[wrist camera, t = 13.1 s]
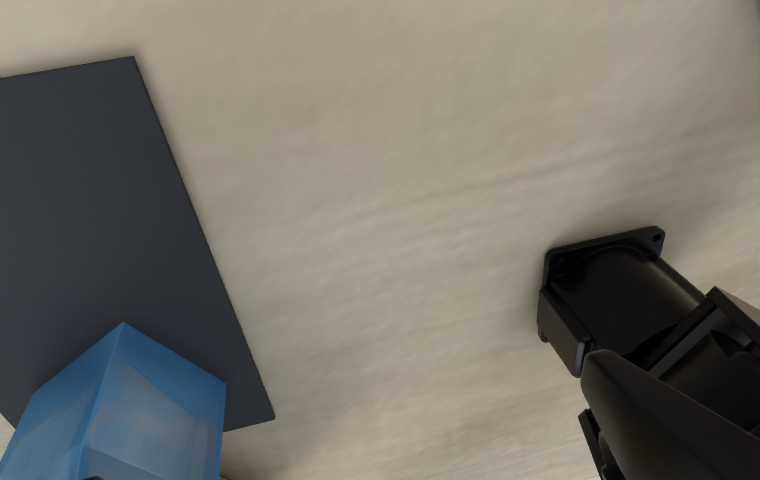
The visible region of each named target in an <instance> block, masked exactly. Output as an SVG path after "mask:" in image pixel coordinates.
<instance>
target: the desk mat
mask: <svg viewBox="0 0 760 480" xmlns="http://www.w3.org/2000/svg"><path fill="white" fill-rule="evenodd" d="M122 322H125V323H126V324H128V325H130V326H131V327H133V328H135V329H136V330H138V331H140V332H141V333H143V334H145V335H146V336H148V337H150V338H151V339H153V340H155V341H156V342H158V343H160V344H161V345H163V346H165V347H166V348H168V349H170V350H171V351H173V352H175V353H176V354H178V355H180V356H181V357H183V358H185V359H186V360H188V361H190V362H191V363H193V364H195V365H196V366H198V367H200V368H201V369H203V370H205V371H206V372H208V373H210V374H211V375H213V376H215V377H216V378H218V379H220V380H221V381H223V382H225V383H226V393H225V407H224V420H223V432H226V431H230V430H234V429H238V428H242V427H246V426H251V425H255V424H259V423H263V422H267V421H271V420H275V414H274V411H273V409H272V406H271V404H270V401H269V399H268V396H267V393H266V391H265V388H264V386H263V383H262V381H261V378H260V376H259V373H258V371H257V368H256V366H255V363H254V360H253V358H252V355H251V353H250V350H249V348H248V345H247V343H246V340H245V338H244V335H243V333H242V330H241V327H240V325H239V322H238V320H237V317H236V315H235V312H234V310H233V307H232V305H231V302H230V299H229V297H228V294H227V292H226V289H225V287H224V284H223V282H222V279H221V277H220V274H219V272H218V269H217V266H216V264H215V261H214V259H213V256H212V254H211V251H210V249H209V246H208V244H207V241H206V239H205V236H204V233H203V231H202V228H201V226H200V223H199V221H198V218H197V216H196V213H195V211H194V208H193V205H192V203H191V200H190V198H189V195H188V193H187V190H186V188H185V185H184V183H183V180H182V178H181V175H180V172H179V170H178V167H177V165H176V162H175V160H174V157H173V155H172V152H171V150H170V147H169V144H168V142H167V139H166V137H165V134H164V132H163V129H162V127H161V124H160V122H159V119H158V117H157V114H156V111H155V109H154V106H153V104H152V101H151V99H150V96H149V94H148V91H147V89H146V86H145V84H144V81H143V78H142V76H141V73H140V71H139V68H138V66H137V63H136V61H135V58H134V56H129V57H124V58H118V59H112V60H106V61H100V62H94V63H88V64H82V65H76V66H70V67H64V68H58V69H52V70H46V71H41V72H35V73H29V74H23V75H17V76H11V77H5V78H0V413H1V414H2V415H3V416H4V417H5V418H6V419H7V421H8V422H9V423H10V424H11V425H12V426H13V427H14V428H15V429H16V428H17V426H18V424H19V422H20V419H21V417H22V415H23V413H24V411H25V409H26V407H27V405H28V403H29V401H30V399H31V396H32V394H33V393H34V392H35V391H36V390H38V389H39V388H40V387H42V386H43V385H44V384H45V383H47V382H48V381H49V380H50V379H52V378H53V377H54V376H55V375H57V374H58V373H59V372H60V371H62V370H63V369H64V368H65V367H67V366H68V365H69V364H71V363H72V362H73V361H74V360H76V359H77V358H78V357H79V356H81V355H82V354H83V353H84V352H86V351H87V350H88V349H89V348H91V347H92V346H93V345H94V344H96V343H97V342H98V341H99V340H101V339H102V338H103V337H105V336H106V335H107V334H108V333H110V332H111V331H112V330H113V329H115V328H116V327H117V326H118V325H120V324H121V323H122Z"/></svg>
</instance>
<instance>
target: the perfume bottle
mask: <svg viewBox="0 0 760 480" xmlns="http://www.w3.org/2000/svg"><path fill="white" fill-rule="evenodd" d="M225 393H226V383H225V382H223V381H221V380H220V379H218V378H216V377H215V376H213V375H211V374H210V373H208V372H206V371H205V370H203V369H201V368H200V367H198V366H196V365H195V364H193V363H191V362H190V361H188V360H186V359H185V358H183V357H181V356H180V355H178V354H176V353H175V352H173V351H171V350H170V349H168V348H166V347H165V346H163V345H161V344H160V343H158V342H156V341H155V340H153V339H151V338H150V337H148V336H146V335H145V334H143V333H141V332H140V331H138V330H136V329H135V328H133V327H131V326H130V325H128V324H126V323H125V322H122V323H121V324H120V325H118V326H117V327H116V328H115V329H113V330H112V331H111V332H110V333H108V334H107V335H106V336H105V337H103V338H102V339H101V340H99V341H98V342H97V343H96V344H94V345H93V346H92V347H91V348H89V349H88V350H87V351H86V352H84V353H83V354H82V355H81V356H79V357H78V358H77V359H76V360H74V361H73V362H72V363H71V364H69V365H68V366H67V367H65V368H64V369H63V370H62V371H60V372H59V373H58V374H57V375H55V376H54V377H53V378H52V379H50V380H49V381H48V382H47V383H45V384H44V385H43V386H42V387H40V388H39V389H38V390H36V391H35V392H34V393H33V394H32V396H31V399H30V401H29V403H28V405H27V407H26V409H25V411H24V413H23V415H22V417H21V419H20V422H19V424H18V426H17V428H16V430H15V432H14V434H13V436H12V438H11V440H10V442H9V444H8V447H7V449H6V451H5V453H4V455H3V457H2V459H1V461H0V480H82V479H86V478H90V477H94V476H99V477H102V478H103V479H104V480H219V473H220V460H221V447H222V433H223V420H224V407H225Z"/></svg>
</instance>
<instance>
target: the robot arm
mask: <svg viewBox="0 0 760 480" xmlns="http://www.w3.org/2000/svg"><path fill="white" fill-rule="evenodd" d="M664 238H665V232H664V231H663V230H662V229H661V228H660V227H658V226H651V227H646V228H642V229H638V230H633V231H629V232H624V233H620V234H615V235H611V236H606V237H602V238H598V239H593V240H589V241H584V242H580V243H575V244H571V245H567V246H562V247H558V248H554V249H551V250H550V251H548V252H547V254H546V256H545V260H544V271H543V282H542V287H541V289H540V291H539V301H538V312H537V324H538V336H539V337H540V339H541V340H542V341H543V342H550V343H551V345H552V346H553V348H554V349H555V351H556V352H557V354H558V355H559V357H560V358H561V360H562V361H563V363H564V364H565V365H566V367H567V368H568V370H569V371H570V373H571V374H572V375H573V376H574V377H576V378H581V380H580V383H581V389H582V392H583V394H584V396H585V398H586V400H587V402H588V404H589V406H590V408H589V409H585V410H584V411H583V412H582V413H581V414H580V415H579V416H578V419H579V422H580V424H581V427H582V430H583V432H584V435H585V438H586V441H587V443H588V446H589V449H590V451H591V454H592V457H593V459H594V462H595V465H596V467H597V470H598V473H599V476H600V478H601V480H760V310H759V309H757V308H755V307H753V306H751V305H750V304H748V303H746V302H744V301H742V300H740V299H739V298H737V297H735V296H733V295H731V294H730V293H728V292H726V291H724V290H722V289H720V288H719V287H717V286H714V287H713V288H712V289H711V290H710V291H709V292H708V293H707V294H706V296H707V297H706V296H705V295H704V294H703V293H702V292H701V291H699V290H698V289H697V288H696V287H695V286H693V285H692V284H691V283H690V282H689V281H688V280H686V279H685V278H684V277H683V276H682V275H681V274H679V273H678V272H677V271H676V270H675V269H673V268H672V267H671V266H670V265H669V264H668V263H666V262H665V261H664V260H663V259H662V258H661V257H660V254H661V250H662V246H663V242H664ZM556 257H557V258H556ZM555 258H556V259H555ZM82 480H104V479H103V478H102V477H99V476H94V477H90V478H86V479H82Z"/></svg>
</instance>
